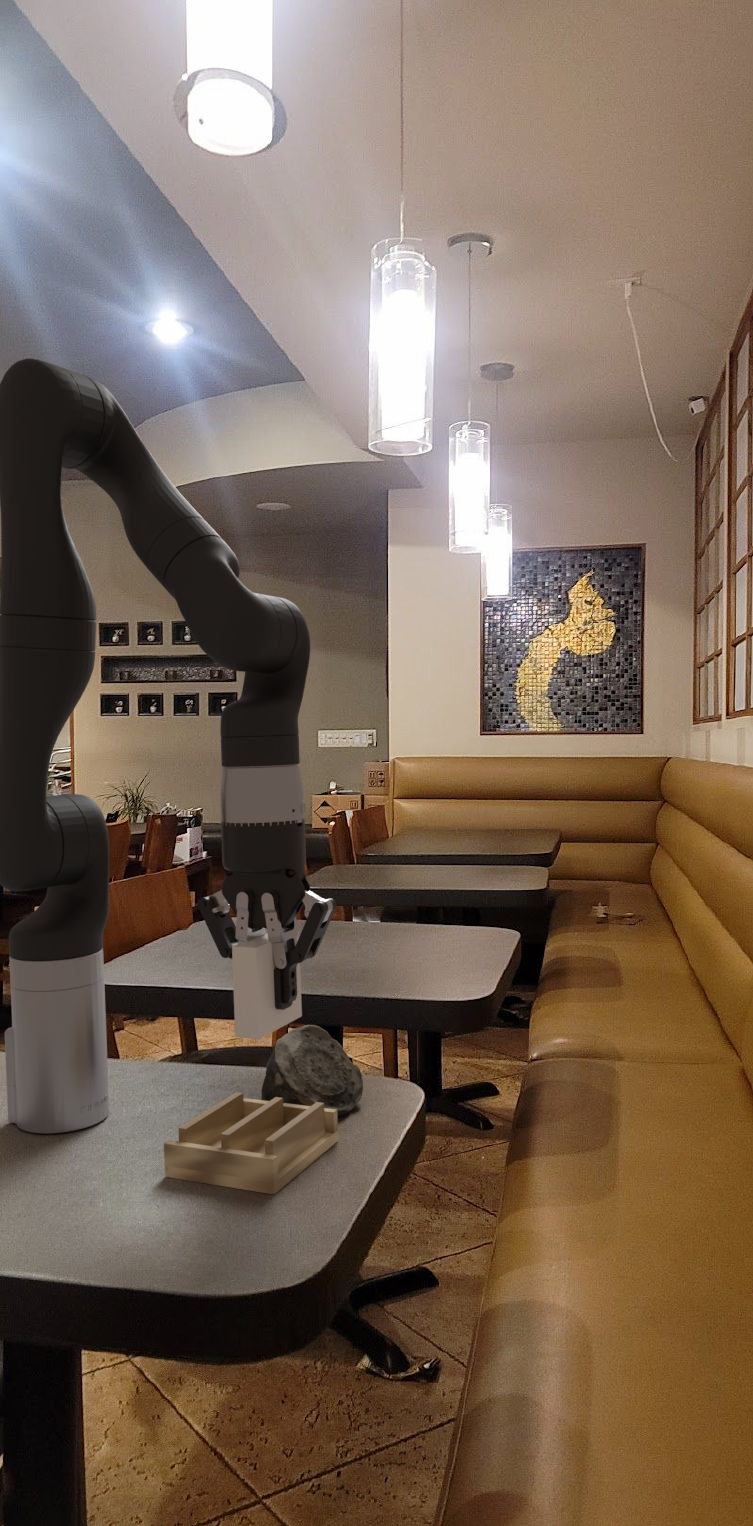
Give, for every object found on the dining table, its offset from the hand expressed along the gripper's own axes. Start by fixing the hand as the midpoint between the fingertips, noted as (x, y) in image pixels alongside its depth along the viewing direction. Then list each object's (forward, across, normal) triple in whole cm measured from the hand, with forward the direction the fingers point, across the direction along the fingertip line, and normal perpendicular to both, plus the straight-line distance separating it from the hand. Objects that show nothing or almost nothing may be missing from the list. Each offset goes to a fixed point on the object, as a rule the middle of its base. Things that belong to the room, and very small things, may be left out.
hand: (269, 1005), depth 98 cm
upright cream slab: (+2, 0, 0) cm, 2 cm away
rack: (+14, -2, 0) cm, 14 cm away
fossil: (+15, -3, +14) cm, 20 cm away
